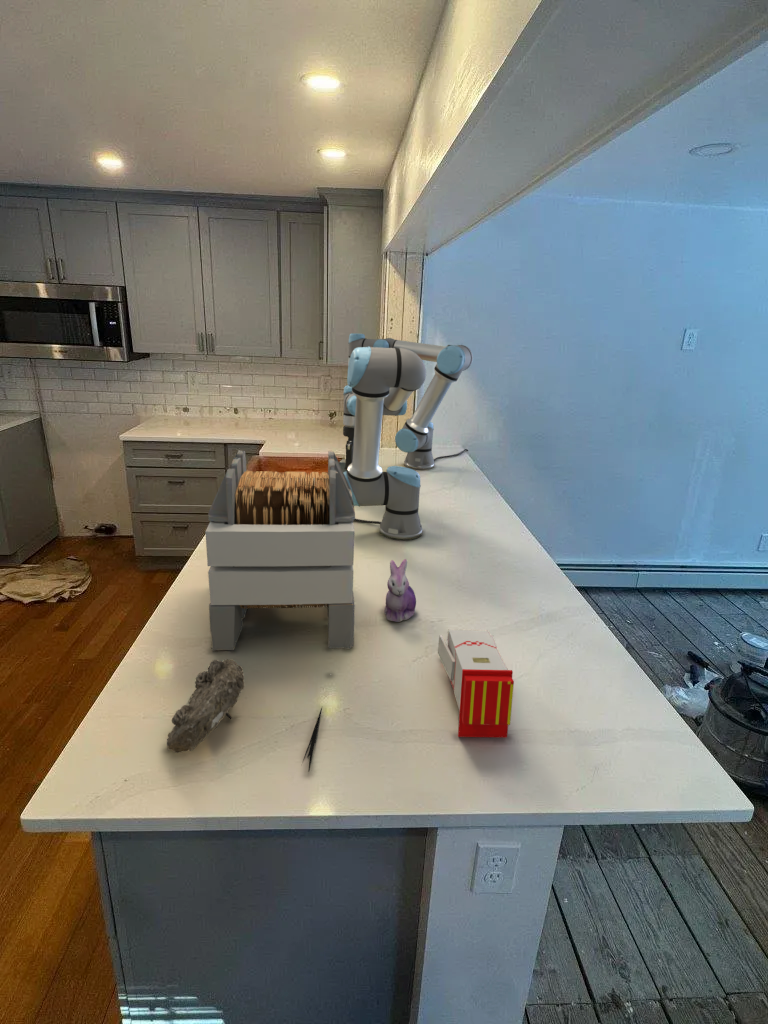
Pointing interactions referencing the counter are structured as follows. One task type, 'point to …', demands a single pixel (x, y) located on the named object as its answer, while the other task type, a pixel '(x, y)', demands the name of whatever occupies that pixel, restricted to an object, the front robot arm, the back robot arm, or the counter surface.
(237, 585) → the record crate
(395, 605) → the figurine
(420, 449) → the back robot arm
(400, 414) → the front robot arm
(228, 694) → the fossil
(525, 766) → the counter surface
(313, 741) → the feather
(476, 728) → the toy
